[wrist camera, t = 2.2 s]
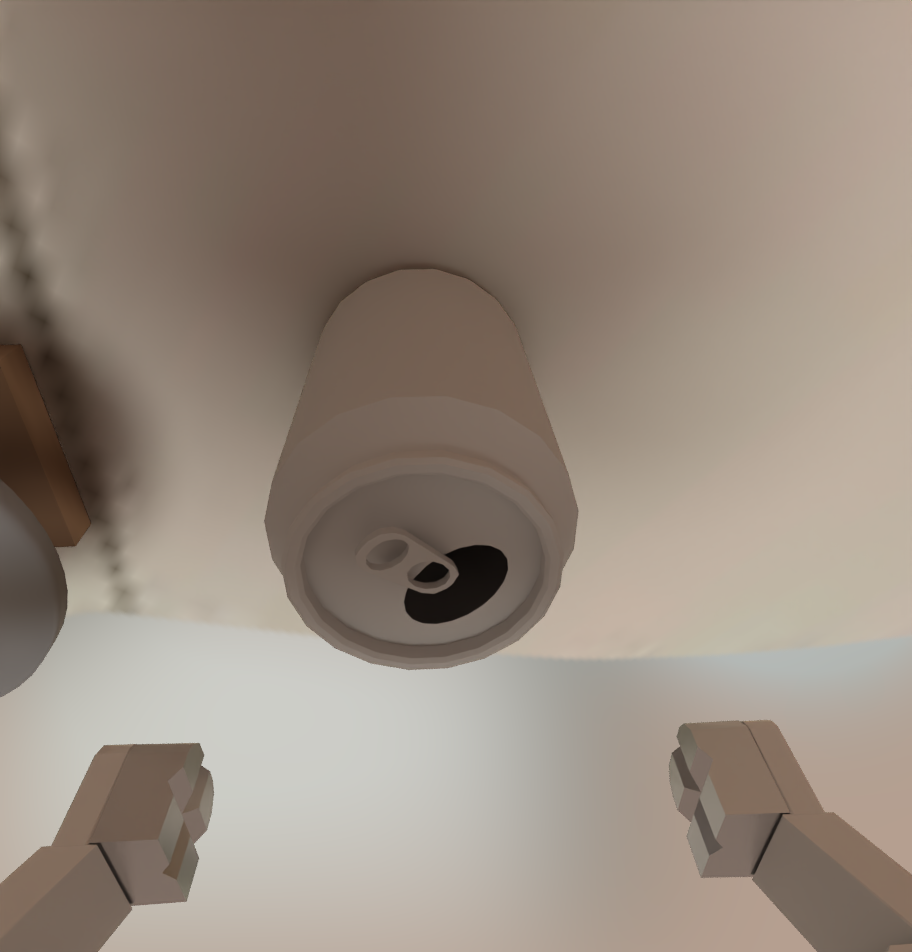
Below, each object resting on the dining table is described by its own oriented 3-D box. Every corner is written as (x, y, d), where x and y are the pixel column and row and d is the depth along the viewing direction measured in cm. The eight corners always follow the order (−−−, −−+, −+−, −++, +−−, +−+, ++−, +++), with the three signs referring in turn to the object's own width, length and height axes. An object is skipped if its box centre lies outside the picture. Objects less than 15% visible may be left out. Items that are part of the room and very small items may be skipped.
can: (425, 480, 27) (430, 733, 17) (277, 366, 24) (178, 593, 14) (561, 359, 24) (663, 575, 14) (415, 212, 21) (415, 358, 11)
